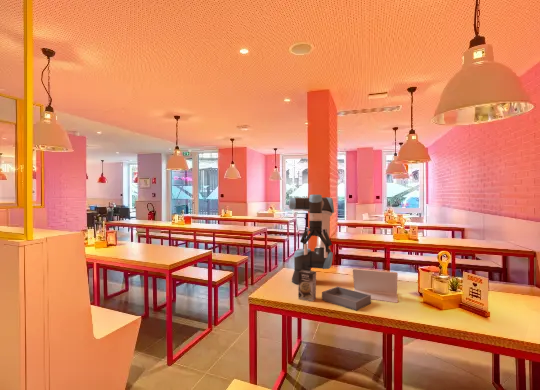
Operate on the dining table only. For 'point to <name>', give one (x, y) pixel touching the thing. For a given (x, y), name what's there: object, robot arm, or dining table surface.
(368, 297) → the tray
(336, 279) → the dining table surface
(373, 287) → the tablet stand
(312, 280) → the coffee box
